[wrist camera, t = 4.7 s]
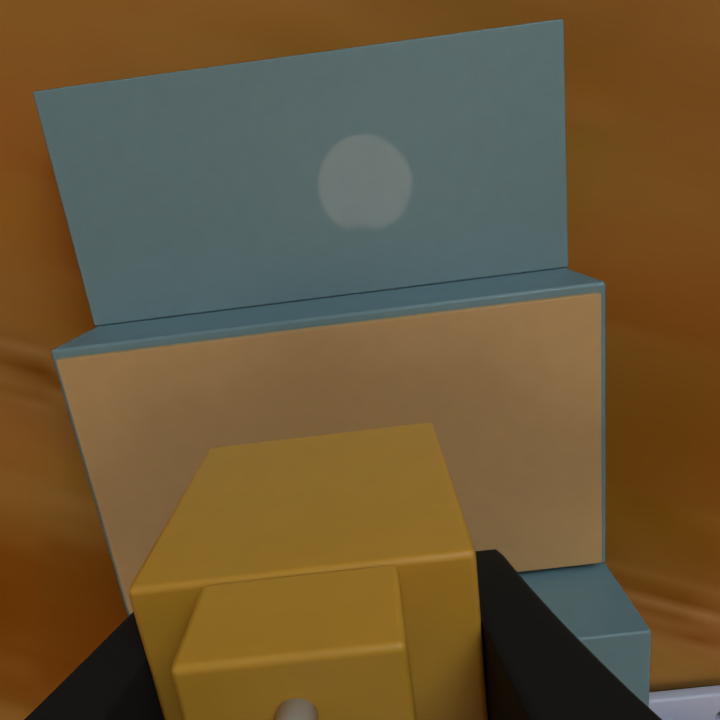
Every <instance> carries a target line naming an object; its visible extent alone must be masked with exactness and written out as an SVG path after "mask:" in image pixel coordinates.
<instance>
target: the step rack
mask: <svg viewBox="0 0 720 720" xmlns="http://www.w3.org/2000/svg"><path fill="white" fill-rule="evenodd" d="M33 95H34V99H35V103H36V107H37V110H38V114H39V118H40V122H41V125H42V129H43V133H44V137H45V140H46V144H47V148H48V152H49V156H50V159H51V163H52V167H53V171H54V174H55V178H56V182H57V186H58V189H59V193H60V197H61V201H62V204H63V208H64V212H65V216H66V220H67V223H68V227H69V231H70V235H71V238H72V242H73V246H74V250H75V253H76V257H77V261H78V265H79V268H80V272H81V276H82V280H83V284H84V287H85V291H86V295H87V299H88V302H89V306H90V310H91V314H92V317H93V321H94V325H95V326H98V327H96V328H94V329H92V330H90V331H88V332H86V333H84V334H82V335H80V336H78V337H76V338H74V339H73V340H71V341H69V342H67V343H65V344H63V345H61V346H59V347H57V348H55V349H53V350H52V357H53V360H54V364H55V367H56V371H57V374H58V377H59V381H60V384H61V388H62V391H63V394H64V398H65V401H66V405H67V408H68V412H69V415H70V418H71V422H72V425H73V429H74V432H75V436H76V439H77V442H78V446H79V449H80V453H81V456H82V459H83V463H84V466H85V470H86V473H87V477H88V480H89V483H90V487H91V490H92V494H93V497H94V501H95V504H96V507H97V511H98V514H99V518H100V521H101V524H102V528H103V531H104V535H105V538H106V542H107V545H108V548H109V552H110V555H111V559H112V562H113V566H114V569H115V572H116V576H117V579H118V583H119V586H120V589H121V593H122V596H123V600H124V603H125V607H126V610H127V613H128V614H129V616H130V615H131V614H132V613H133V608H132V605H131V601H130V598H129V588H130V586H131V584H132V582H133V581H134V579H135V577H136V575H137V574H138V572H139V570H140V569H141V567H142V565H143V563H144V562H145V560H146V558H147V556H148V555H149V553H150V551H151V549H152V548H153V546H154V544H155V542H156V541H157V539H158V537H159V536H160V534H161V532H162V530H163V529H164V527H165V525H166V523H167V522H168V520H169V518H170V516H171V515H172V513H173V511H174V509H175V508H176V506H177V504H178V503H179V501H180V499H181V497H182V496H183V494H184V492H185V490H186V489H187V487H188V485H189V483H190V482H191V480H192V478H193V476H194V475H195V473H196V471H197V470H198V468H199V466H200V464H201V463H202V461H203V459H204V457H205V456H206V454H207V452H208V450H210V449H211V448H216V447H225V446H233V445H242V444H251V443H259V442H268V441H276V440H285V439H293V438H302V437H310V436H319V435H327V434H336V433H344V432H353V431H361V430H370V429H378V428H387V427H395V426H404V425H413V424H421V423H431V424H432V425H433V426H434V429H435V432H436V435H437V438H438V441H439V444H440V447H441V450H442V453H443V456H444V459H445V462H446V465H447V468H448V471H449V474H450V477H451V480H452V483H453V486H454V489H455V492H456V495H457V498H458V501H459V504H460V507H461V510H462V513H463V516H464V519H465V522H466V525H467V528H468V531H469V534H470V537H471V540H472V543H473V546H474V549H475V551H483V550H492V549H496V550H497V551H499V552H500V553H501V554H502V555H504V557H505V558H506V559H507V560H508V562H509V563H510V564H511V565H512V566H513V568H514V569H515V570H516V571H517V572H518V574H519V575H520V576H521V577H522V578H523V580H524V581H525V582H526V583H527V584H528V585H529V586H530V588H531V589H532V590H533V591H534V592H535V593H536V594H537V596H538V597H539V598H540V599H541V600H542V601H543V602H544V603H545V604H546V605H547V606H548V608H549V609H550V610H551V611H552V612H553V613H554V614H555V615H556V616H557V617H558V618H559V620H560V621H561V622H562V623H563V624H564V625H565V626H566V627H567V628H568V629H569V630H570V631H571V632H572V633H573V634H574V635H575V636H576V637H577V638H578V639H579V640H580V641H581V642H582V643H583V644H584V645H585V646H586V647H587V648H588V649H589V650H590V651H591V652H592V653H593V654H594V655H595V656H596V657H597V658H598V659H599V660H600V661H601V662H602V663H603V664H604V665H605V666H606V667H607V668H608V669H609V670H610V671H611V672H612V673H613V674H614V675H615V676H616V677H617V678H618V679H619V680H620V681H621V682H622V683H623V684H624V685H625V686H626V687H627V688H628V689H629V690H630V691H632V692H633V693H634V694H635V695H636V696H637V697H638V698H639V699H640V700H641V701H642V702H643V703H644V704H646V705H647V706H648V707H649V683H650V648H651V631H650V629H649V628H648V626H647V625H646V623H645V622H644V620H643V619H642V617H641V616H640V614H639V613H638V611H637V610H636V608H635V607H634V605H633V604H632V603H631V601H630V600H629V598H628V597H627V595H626V594H625V592H624V591H623V589H622V588H621V586H620V585H619V583H618V582H617V580H616V579H615V577H614V576H613V574H612V573H611V571H610V570H609V568H608V567H607V565H606V564H605V563H604V562H605V283H604V282H603V281H600V280H597V279H595V278H592V277H589V276H586V275H583V274H580V273H578V272H575V271H572V270H569V269H566V267H568V236H567V182H566V129H565V75H564V22H563V19H558V20H550V21H543V22H536V23H529V24H521V25H514V26H507V27H499V28H492V29H485V30H478V31H470V32H463V33H456V34H449V35H441V36H434V37H427V38H419V39H412V40H405V41H398V42H390V43H383V44H376V45H368V46H361V47H354V48H347V49H339V50H332V51H325V52H318V53H310V54H303V55H296V56H288V57H281V58H274V59H267V60H259V61H252V62H245V63H237V64H230V65H223V66H216V67H208V68H201V69H194V70H187V71H179V72H172V73H165V74H157V75H150V76H143V77H136V78H128V79H121V80H114V81H106V82H99V83H92V84H85V85H77V86H70V87H63V88H56V89H48V90H41V91H35V92H33ZM129 616H128V617H129ZM128 617H127V618H128Z"/></svg>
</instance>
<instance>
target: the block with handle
mask: <svg viewBox="0 0 720 720" xmlns="http://www.w3.org/2000/svg"><path fill="white" fill-rule="evenodd" d="M129 598H130V601H131V605H132V608H133V612H134V615H135V619H136V622H137V626H138V629H139V633H140V636H141V639H142V643H143V646H144V650H145V653H146V657H147V660H148V664H149V667H150V671H151V674H152V678H153V681H154V685H155V688H156V691H157V695H158V698H159V702H160V705H161V709H162V712H163V716H164V719H165V720H489V718H488V705H487V692H486V679H485V666H484V652H483V639H482V626H481V613H480V600H479V587H478V573H477V560H476V552H475V549H474V546H473V543H472V540H471V537H470V534H469V531H468V528H467V525H466V522H465V519H464V516H463V513H462V510H461V507H460V504H459V501H458V498H457V495H456V492H455V489H454V486H453V483H452V480H451V477H450V474H449V471H448V468H447V465H446V462H445V459H444V456H443V453H442V450H441V447H440V444H439V441H438V438H437V435H436V432H435V429H434V426H433V425H432V424H431V423H421V424H413V425H404V426H395V427H387V428H378V429H370V430H361V431H353V432H344V433H336V434H327V435H319V436H310V437H302V438H293V439H285V440H276V441H268V442H259V443H251V444H242V445H233V446H225V447H216V448H211V449H210V450H208V452H207V454H206V456H205V457H204V459H203V461H202V463H201V464H200V466H199V468H198V470H197V471H196V473H195V475H194V476H193V478H192V480H191V482H190V483H189V485H188V487H187V489H186V490H185V492H184V494H183V496H182V497H181V499H180V501H179V503H178V504H177V506H176V508H175V509H174V511H173V513H172V515H171V516H170V518H169V520H168V522H167V523H166V525H165V527H164V529H163V530H162V532H161V534H160V536H159V537H158V539H157V541H156V542H155V544H154V546H153V548H152V549H151V551H150V553H149V555H148V556H147V558H146V560H145V562H144V563H143V565H142V567H141V569H140V570H139V572H138V574H137V575H136V577H135V579H134V581H133V582H132V584H131V586H130V588H129Z"/></svg>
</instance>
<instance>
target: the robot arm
mask: <svg viewBox="0 0 720 720" xmlns="http://www.w3.org/2000/svg"><path fill="white" fill-rule="evenodd" d="M475 552H476V560H477V573H478V587H479V600H480V613H481V626H482V639H483V652H484V666H485V679H486V692H487V705H488V718H489V720H720V685H715V686H705V687H695V688H686V689H676V690H666V691H657V692H649V707H648V706H647V705H646V704H644V703H643V702H642V701H641V700H640V699H639V698H638V697H637V696H636V695H635V694H634V693H633V692H632V691H630V690H629V689H628V688H627V687H626V686H625V685H624V684H623V683H622V682H621V681H620V680H619V679H618V678H617V677H616V676H615V675H614V674H613V673H612V672H611V671H610V670H609V669H608V668H607V667H606V666H605V665H604V664H603V663H602V662H601V661H600V660H599V659H598V658H597V657H596V656H595V655H594V654H593V653H592V652H591V651H590V650H589V649H588V648H587V647H586V646H585V645H584V644H583V643H582V642H581V641H580V640H579V639H578V638H577V637H576V636H575V635H574V634H573V633H572V632H571V631H570V630H569V629H568V628H567V627H566V626H565V625H564V624H563V623H562V622H561V621H560V620H559V618H558V617H557V616H556V615H555V614H554V613H553V612H552V611H551V610H550V609H549V608H548V606H547V605H546V604H545V603H544V602H543V601H542V600H541V599H540V598H539V597H538V596H537V594H536V593H535V592H534V591H533V590H532V589H531V588H530V586H529V585H528V584H527V583H526V582H525V581H524V580H523V578H522V577H521V576H520V575H519V574H518V572H517V571H516V570H515V569H514V568H513V566H512V565H511V564H510V563H509V562H508V560H507V559H506V558H505V557H504V555H502V554H501V553H500V552H499V551H497V550H496V549H492V550H483V551H475ZM24 720H165V719H164V716H163V712H162V709H161V705H160V702H159V698H158V695H157V691H156V688H155V685H154V681H153V678H152V674H151V671H150V667H149V664H148V660H147V657H146V653H145V650H144V646H143V643H142V639H141V636H140V633H139V629H138V626H137V622H136V619H135V615H134V612H133V613H132V614H131V615H130V616H129V617H128V618H127V619H126V620H125V621H124V622H123V623H122V624H121V625H120V626H119V627H118V628H117V629H116V630H115V631H114V632H113V633H112V634H111V635H110V636H109V637H108V638H107V639H106V640H105V641H104V642H103V643H102V644H101V645H100V646H99V647H98V648H97V649H96V650H95V651H94V652H93V653H92V654H91V655H90V656H89V657H88V658H87V659H86V660H85V661H84V662H83V663H82V664H81V665H80V666H79V667H78V668H77V669H76V670H75V671H74V672H73V673H72V674H71V675H70V676H69V677H67V678H66V679H65V680H64V681H63V682H62V683H61V684H60V685H59V686H58V687H57V688H56V689H55V690H54V691H53V692H52V693H51V694H50V695H49V696H48V697H47V698H46V699H45V700H44V701H43V702H42V703H41V704H40V705H39V706H38V707H37V708H36V709H35V710H34V711H33V712H32V713H31V714H30V715H29V716H28V717H27V718H26V719H24Z"/></svg>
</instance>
